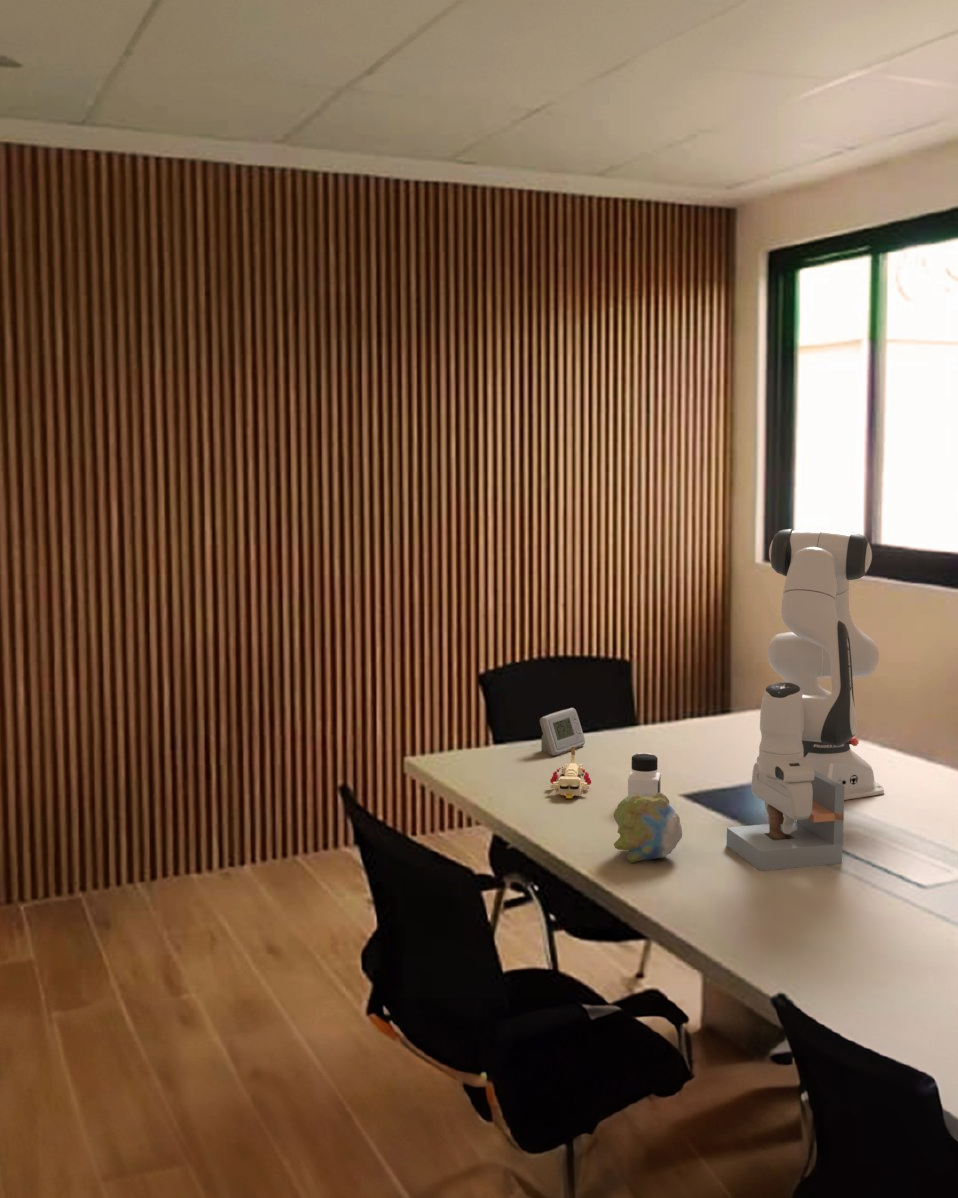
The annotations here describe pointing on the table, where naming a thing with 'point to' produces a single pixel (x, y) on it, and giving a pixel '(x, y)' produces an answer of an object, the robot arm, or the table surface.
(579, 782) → the cream toy figure
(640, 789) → the medicine bottle
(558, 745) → the digital clock
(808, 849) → the station
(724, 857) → the table surface
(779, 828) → the peg
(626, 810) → the relief earth globe
